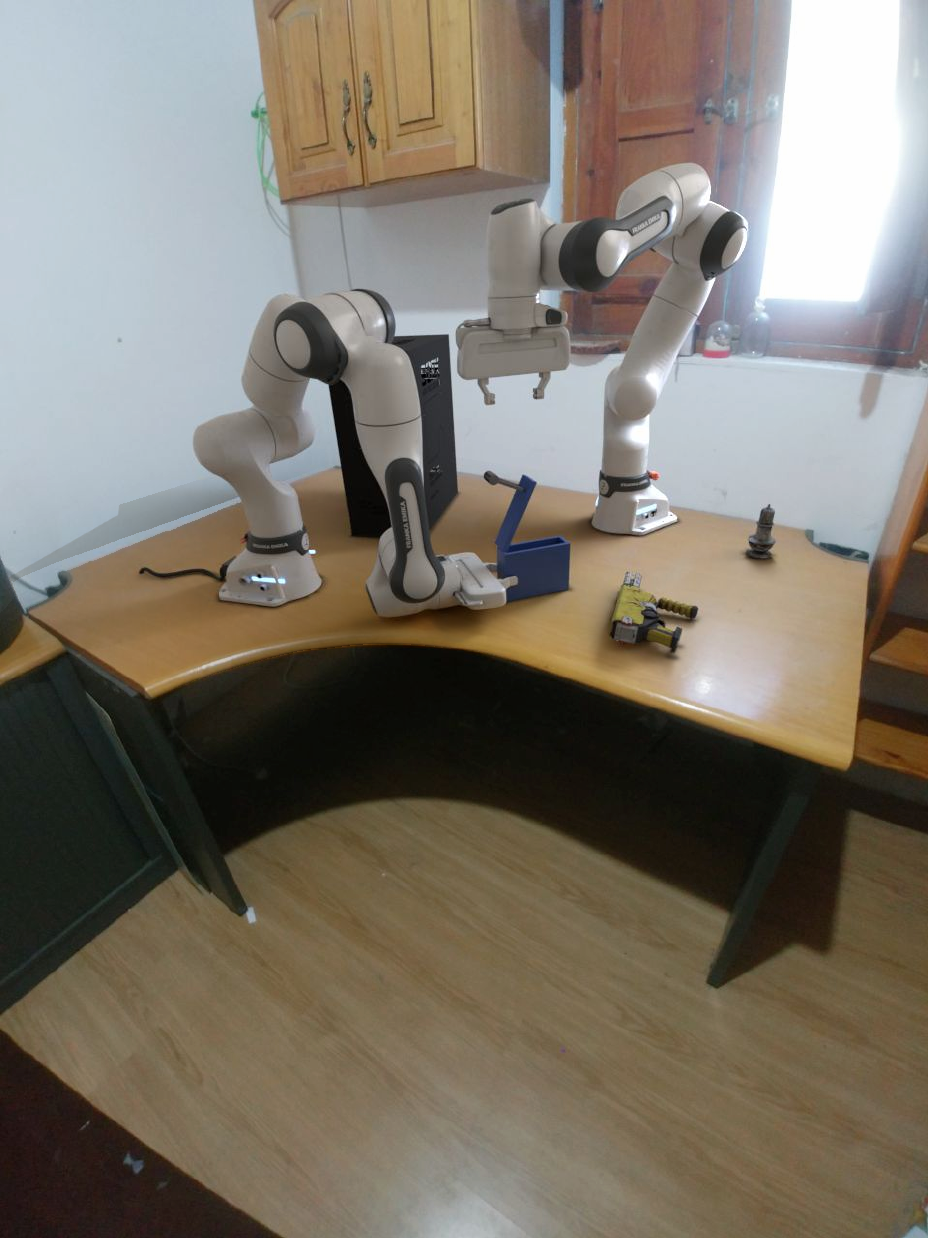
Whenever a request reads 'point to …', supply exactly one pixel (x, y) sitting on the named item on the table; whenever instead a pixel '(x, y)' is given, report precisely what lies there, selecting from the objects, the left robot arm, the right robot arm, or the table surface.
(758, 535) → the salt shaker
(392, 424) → the left robot arm
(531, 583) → the chest
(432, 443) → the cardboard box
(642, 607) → the toy gun
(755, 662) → the table surface
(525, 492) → the lid
